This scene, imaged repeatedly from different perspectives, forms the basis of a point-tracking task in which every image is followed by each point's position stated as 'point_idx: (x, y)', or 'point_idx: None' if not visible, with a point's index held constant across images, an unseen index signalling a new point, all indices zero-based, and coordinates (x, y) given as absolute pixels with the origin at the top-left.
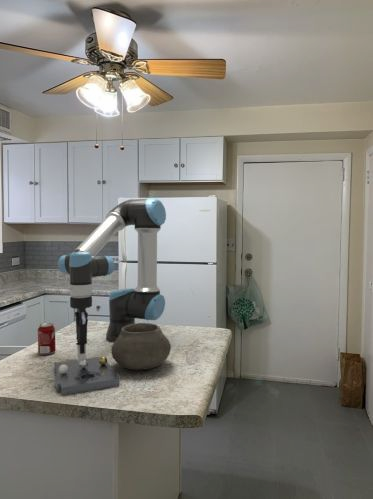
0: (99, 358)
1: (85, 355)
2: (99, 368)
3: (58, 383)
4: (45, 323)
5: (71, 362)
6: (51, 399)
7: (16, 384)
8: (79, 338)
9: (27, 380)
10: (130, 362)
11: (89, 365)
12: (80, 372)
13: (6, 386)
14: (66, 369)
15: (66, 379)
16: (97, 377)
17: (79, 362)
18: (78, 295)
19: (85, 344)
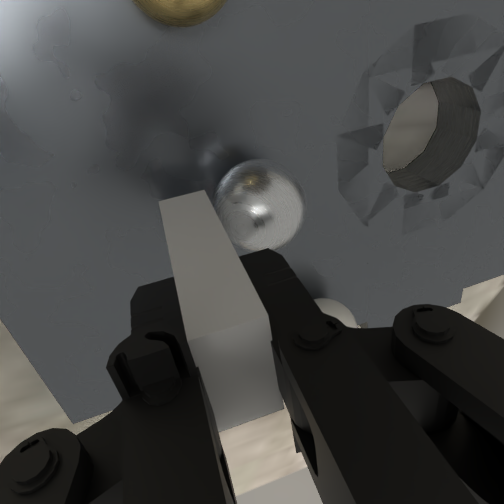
0: (175, 15)
1: (219, 224)
2: (292, 24)
3: (450, 299)
4: None
5: (65, 315)
6: (486, 282)
7: (270, 454)
8: (502, 492)
9: (234, 437)
10: None
11: (175, 141)
12: (332, 204)
13: (281, 473)
14: (349, 312)
15: (417, 272)
16: (490, 52)
17: (275, 250)
18: None
19: (264, 312)
